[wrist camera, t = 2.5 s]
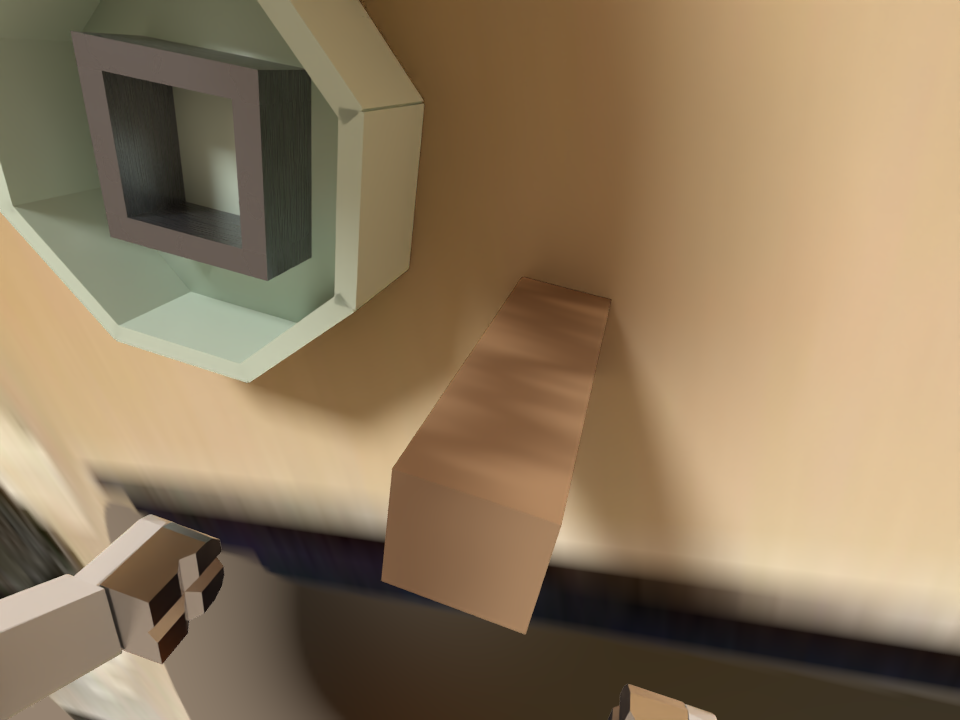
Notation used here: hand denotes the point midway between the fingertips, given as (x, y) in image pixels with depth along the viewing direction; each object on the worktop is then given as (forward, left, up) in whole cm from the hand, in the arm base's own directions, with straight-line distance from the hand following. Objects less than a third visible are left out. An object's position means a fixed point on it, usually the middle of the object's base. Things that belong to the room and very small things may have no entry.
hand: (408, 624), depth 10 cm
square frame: (+13, -4, -14) cm, 20 cm away
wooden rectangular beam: (-1, 0, -14) cm, 14 cm away
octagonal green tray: (+13, -4, -14) cm, 20 cm away
